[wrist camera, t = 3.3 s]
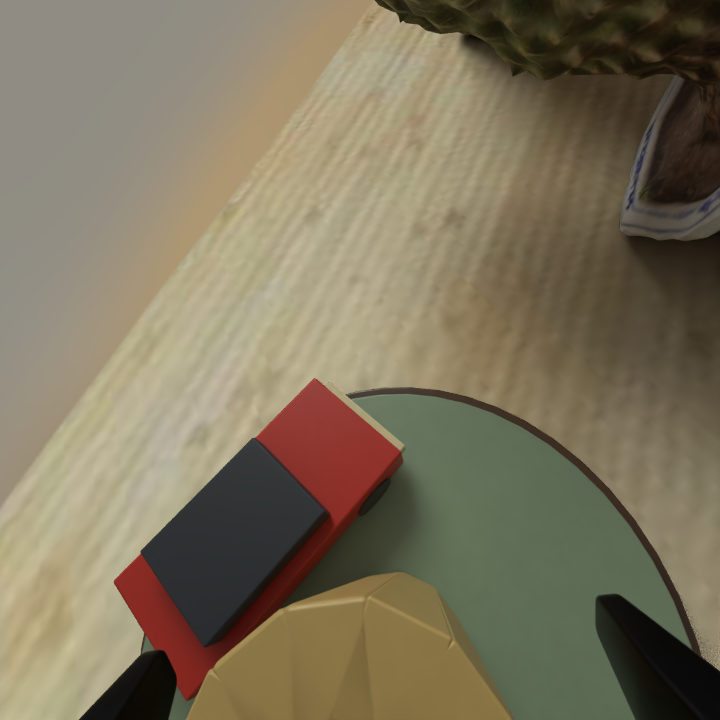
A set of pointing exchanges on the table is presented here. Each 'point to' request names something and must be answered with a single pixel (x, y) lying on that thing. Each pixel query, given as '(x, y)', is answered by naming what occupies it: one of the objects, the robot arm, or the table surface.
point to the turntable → (392, 572)
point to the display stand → (568, 456)
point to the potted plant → (620, 56)
